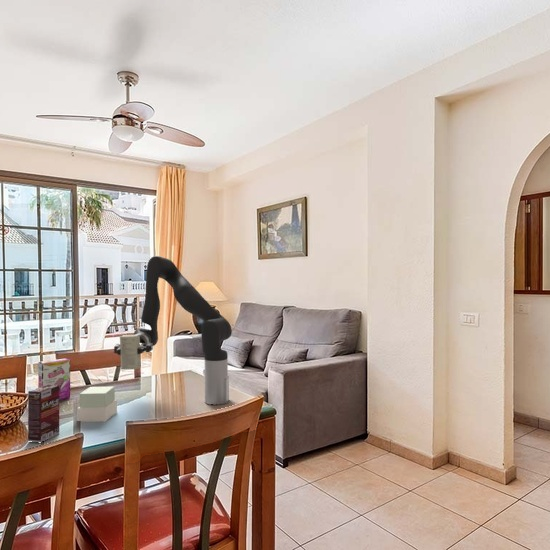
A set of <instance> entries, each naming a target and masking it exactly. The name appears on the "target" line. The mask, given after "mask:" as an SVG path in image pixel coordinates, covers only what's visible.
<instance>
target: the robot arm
mask: <svg viewBox="0 0 550 550" xmlns="http://www.w3.org/2000/svg"><path fill="white" fill-rule="evenodd" d="M145 276H146V277H145V296H144V303H143V304H144V305H143V307H142V312H141V318H140V321H141V322H142V323H143V324H146V325H148V326H149V327H150V329H148V328H141V327H140V328H136V329H135V331H134V332H133V335H136V334H140V347H139V348H138V354H140V355H141V354H143V353H145V352H146V353H149V352H151V351H153V349H154V346H155V345H157V343H158V340H159V334H158V320H159V316H160V311H161V300H160V295H159V289H158V287H159V286H158V284H159V279H163V280H164V281H166V282H167V284H168V285H170V287H171V289H172V292H173V297H174V298H175V301H176V302H177V303H178V304H179V305H180V306H181V308H183V309H184V310H185V311H186V312H188V313H189V314H191V315H192V316H195V317H197V318H198V319H200V320H202V321H203V324H202V325H201V335H200V336H201V346H202V347H201V348H202V354H203V355H204V356H203V357H204V403H205V404H207V405H211V404H213V405H215V406H217V405H224V404H227V403H228V402H229V400H230V380H229V379H230V377H229V373H228V372H229V371H228V369H229V368H228V365H229V364H228V363H229V360H228V351H227V350H225V349H222V348H221V343H220V342H224V341H226V340H228V339H230V338H231V336H232V333H233V332H232V331H233V330H232V326H231V324H230V322H229V321H228V320H227V319H226V317H224V316H223V315H221V314H220V312H219V311H217V310H216V309H215V308H214V307H213V306H212V305H211V304H210V303H209V302H208V301H207V300H206V299H205V298H204V297H203V296H202V294H201V293H200V292H199V291H198V290H197V289H196V288H195V287H194V285H192V284H191V283H190V282H189V281H188V279H186V277H185V276H183V274H182V273H181V271H180V270H179V269H178V267H177V265H176V264H175V263H174V262H173V261H172V260H171V259H169V258H165V257H162V256H159V255H153V256H152V257H150V258H149V260H148V262H147V265H146V275H145ZM113 348H114V349H113V351H114V352H113V353H114V354H116V355H117V356H121V354H120V343H116V344H114V346H113ZM216 404H217V405H216Z"/></svg>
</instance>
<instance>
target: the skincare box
mask: <svg viewBox="0 0 550 550" xmlns="http://www.w3.org/2000/svg"><path fill="white" fill-rule="evenodd" d="M119 345H120V354H121V355H120V370H138V369H140V368H141V366H142V365H141V364H142V363H141V359H142V358H141V354H138V348H139V347H140V334H136V335H134V334H123V335H120V336H119Z"/></svg>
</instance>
